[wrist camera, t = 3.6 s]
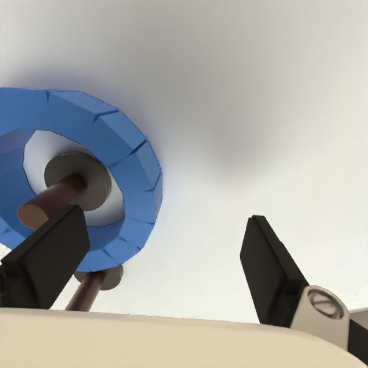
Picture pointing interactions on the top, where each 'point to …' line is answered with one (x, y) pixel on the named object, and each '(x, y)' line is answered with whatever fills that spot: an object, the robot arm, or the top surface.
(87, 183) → the short peg
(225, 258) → the top surface
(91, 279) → the tall peg
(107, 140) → the segmented ring
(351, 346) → the robot arm
